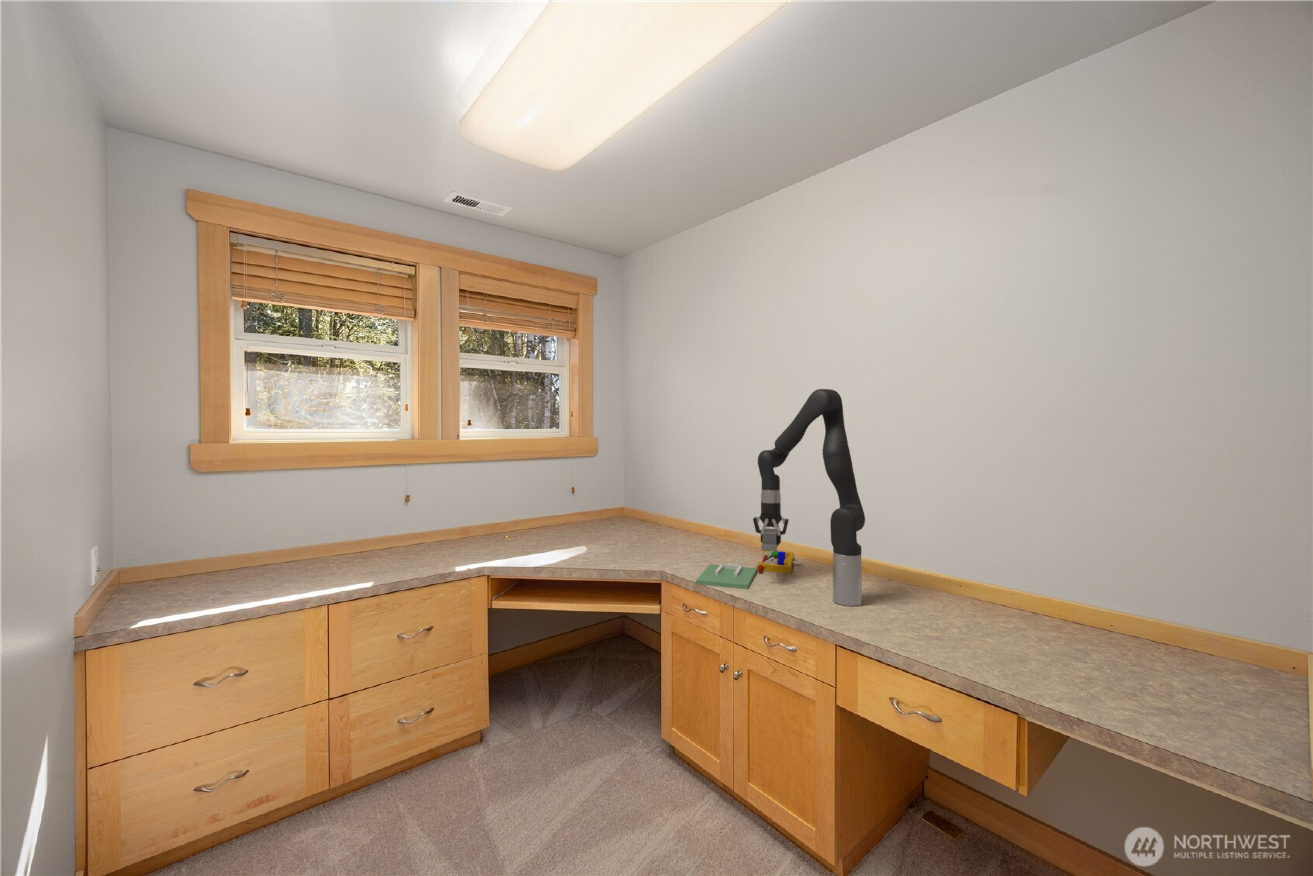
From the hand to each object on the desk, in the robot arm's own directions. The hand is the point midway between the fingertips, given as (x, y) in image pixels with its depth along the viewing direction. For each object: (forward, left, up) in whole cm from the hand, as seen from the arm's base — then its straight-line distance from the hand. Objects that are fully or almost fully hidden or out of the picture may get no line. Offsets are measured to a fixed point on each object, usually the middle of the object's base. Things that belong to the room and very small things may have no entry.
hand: (770, 544), depth 207 cm
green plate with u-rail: (+17, 0, -15) cm, 23 cm away
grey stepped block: (0, +1, -1) cm, 2 cm away
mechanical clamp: (-1, -25, -16) cm, 29 cm away
